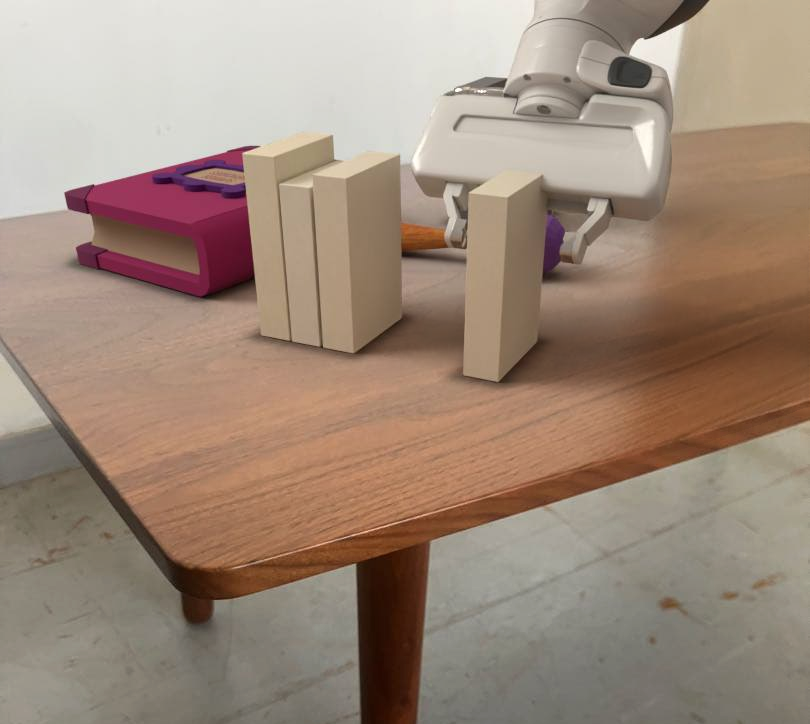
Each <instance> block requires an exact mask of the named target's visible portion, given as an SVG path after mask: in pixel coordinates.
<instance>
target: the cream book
mask: <svg viewBox="0 0 810 724" xmlns="http://www.w3.org/2000/svg"><path fill="white" fill-rule="evenodd" d="M542 176H543V174H537V173H527V172H518V171H508V170H506V171H505V172H503V173H501V174H499V175H498V176H496V177H494V178H493V179H491V180H489V181H488V182H486V183H484V184H483V185H481V186H479V187H477V188H476V189H474V190H472V191H471V192H469V201H468V235H467V249H466V267H465V269H466V271H465V272H466V274H465V301H464V302H465V305H464V308H465V309H464V337H463V338H464V339H463V342H464V343H463V368H462V369H463V371H462V374H463V376H465V377H470V378H474V379H479V380H485V381H491V382H496V383H499V382H500V381H501V380H502V379H503V378H504V377H505V376H506V374H508V373H509V372H510V371H511V370H512V368H513V367H515V365H516V364H518V362H519V361H520V360H521V359H523V357H524V356H525V355H526V354H527V353H528V352H529V351H530V350H531V349H532V348H533V347H534V346H535V345H536V344H537V342H538V336H539V335H538V334H539V324H540V323H539V322H540V313H541V312H540V310H541V298H542V286H543V285H542V284H543V274H542V273H543V260H544V247H545V235H546V222H547V205H548V194H547V192H545V191H541V189H540V184H541V180H542Z"/></svg>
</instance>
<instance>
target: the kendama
mask: <svg viewBox="0 0 810 724" xmlns="http://www.w3.org/2000/svg"><path fill="white" fill-rule="evenodd" d="M445 231H446V229H441V228H437V227H436V228H435V227H429V226H423V225H419V224H418V225H417V224H413V223H406V222H401V252H413V251H425V250H440V249H451V248H450V247H448V246H447V244H446V242H445V240H444V234H445ZM565 232H566V229H565V227H564V225H562V223H561V222H560V221H559V218H556V217H554V216H553V215H551V214H547V222H546V235H545V247H544V260H543V273H542V275H544V274H547V273H550V272H551V271H553V270H554V269H555V268H556V267H557V266H558V265H559V264H560V263H562V262H561V259H562V258H560V255H559V251H560V247H561V245H562V244H563V243H564V242H563V237H564V234H565Z"/></svg>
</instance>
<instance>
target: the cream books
mask: <svg viewBox="0 0 810 724" xmlns="http://www.w3.org/2000/svg"><path fill="white" fill-rule="evenodd" d="M260 146H261V147H258V148H256V149H253V150H250V151H247V152H244V153H242V155H243V165H244V175H245V184H246V194H247V204H248V213H249V223H250V233H251V242H252V252H253V262H254V271H255V277H254V280H255V289H256V298H257V309H258V318H259V319H258V320H259V327H260V328H259V329H260V335H261V336H262V337H267V338H273V339H277V340H283V341H288V342H290V341H291V342H292V343H298V344H302V345H303V344H304V345H308V346H312V347H317V348H321V347H323V348H324V349H329V350H334V351H339V352H343V353H348V354H356V352H358V351H359V350H361V349H362V348H363V347H365V346H366V345H367V344H369V343H370V342H371V341H373V340H374V339H376V338H377V337H379V335H381V334H383V333H384V332H385V331H386V330H388V329H389V328H391V327H392V326H393V325H395V324H396V323H398V322H399V321H400V320H401V319H402V318H403V290H402V289H403V284H402V283H403V281H402V279H403V277H402V276H403V274H402V273H403V272H402V251H401V223H402V195H401V194H402V193H401V191H402V189H401V187H402V186H401V181H402V179H401V154H400V153H393V152H385V151H384V152H383V151H372V150H368V151H365V152H363V153H361V154H358V155H355V156H352V157H351V158H349V159H346V160H341V161H340V159H335V150H334V149H335V147H334V146H335V145H334V135H333V134H331V133H330V134H329V133H318V132H309V131H308V132H307V131H302V132H298V133H296V134H293V135H290V136H288V137H284V138H282V139H279V140H276V141H273V142H270V143H268V144H267V143H266V144H265V145H260ZM334 159H335V160H336V161H334Z"/></svg>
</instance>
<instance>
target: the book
mask: <svg viewBox="0 0 810 724" xmlns="http://www.w3.org/2000/svg"><path fill="white" fill-rule="evenodd" d="M261 146H262V145H244V146H239V147H237V148H233V149H232V148H231V149H228V150H226V152H221V153H217V154H212V155H209V156H205V157H202V158H197V159H193V160H189V161H186V162H182V163H178V164H174V165H170V166H169V165H168V166H166V167H162V168H158V169H154V170H149V171H146V172H142V173H138V174H133V175H130V176H126V177H123V178H119V179H114V180H110V181H106V182H103V183H98V184H95V183H93V184H89V185H88V184H87V185H85V186H80V187H76V188H72V189H69V190H67V191H65V192H64V191H63V194H64V199H65V203H66V208H67V210H69V211H73V212H77V213H81V214H85V215H90V216H91V220H92V226H93V231H94V233H93V237H92V240H91V241H88V242H84V243H81V244H79V245H77V246H75V251H76V255H77V260H78V263H79V265H82V266H86V267H89V268H92V269H96V270H99V269H102V270H106V271H109V272H113V273H117V274H119V275H123V276H127V277H131V278H133V279H137V280H140V281H145V282H148V283H152V284H154V285H158V286H162V287H166V288H169V289H172V290H176V291H180V292H183V293H186V294H189V295H192V296H197V297H200V298H202V297H204V296H206V295H212V294H214V293H217V292H220V291H222V290H225V289H228V288H230V287H232V286H235V285H238V284H240V283H243V282H246V281H248V280H251V279H254V278H255V271H254V262H253V252H252V242H251V233H250V223H249V213H248V204H247V194H246V184H245V175H244V165H243V155H242V153H244V152H247V151H250V150H253V149H256V148H258V147H261ZM336 160H337V159H335V158H334V161H336ZM339 160H340V159H339ZM340 161H342V160H340Z"/></svg>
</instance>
